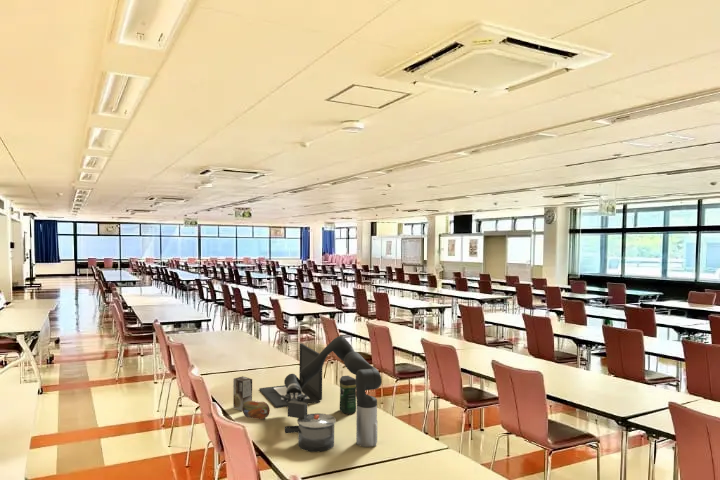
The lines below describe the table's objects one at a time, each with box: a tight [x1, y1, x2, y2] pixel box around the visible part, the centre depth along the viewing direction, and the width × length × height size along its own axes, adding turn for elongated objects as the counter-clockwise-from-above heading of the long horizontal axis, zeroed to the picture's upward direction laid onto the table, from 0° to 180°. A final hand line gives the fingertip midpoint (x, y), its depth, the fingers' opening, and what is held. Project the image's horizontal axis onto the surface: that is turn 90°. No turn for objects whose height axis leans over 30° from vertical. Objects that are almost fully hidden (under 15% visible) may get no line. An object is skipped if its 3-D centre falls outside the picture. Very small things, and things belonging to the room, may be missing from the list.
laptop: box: [259, 343, 323, 409], centre depth 305 cm, size 37×27×27 cm
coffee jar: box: [339, 375, 357, 415], centre depth 278 cm, size 10×8×19 cm
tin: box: [242, 400, 271, 420], centre depth 267 cm, size 15×3×8 cm, turn 69°
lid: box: [287, 401, 337, 428], centre depth 233 cm, size 22×17×7 cm
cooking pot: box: [284, 424, 335, 453], centre depth 232 cm, size 22×16×10 cm
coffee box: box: [232, 375, 253, 412], centre depth 281 cm, size 9×6×16 cm
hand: (294, 403), depth 240 cm, fingers closed
